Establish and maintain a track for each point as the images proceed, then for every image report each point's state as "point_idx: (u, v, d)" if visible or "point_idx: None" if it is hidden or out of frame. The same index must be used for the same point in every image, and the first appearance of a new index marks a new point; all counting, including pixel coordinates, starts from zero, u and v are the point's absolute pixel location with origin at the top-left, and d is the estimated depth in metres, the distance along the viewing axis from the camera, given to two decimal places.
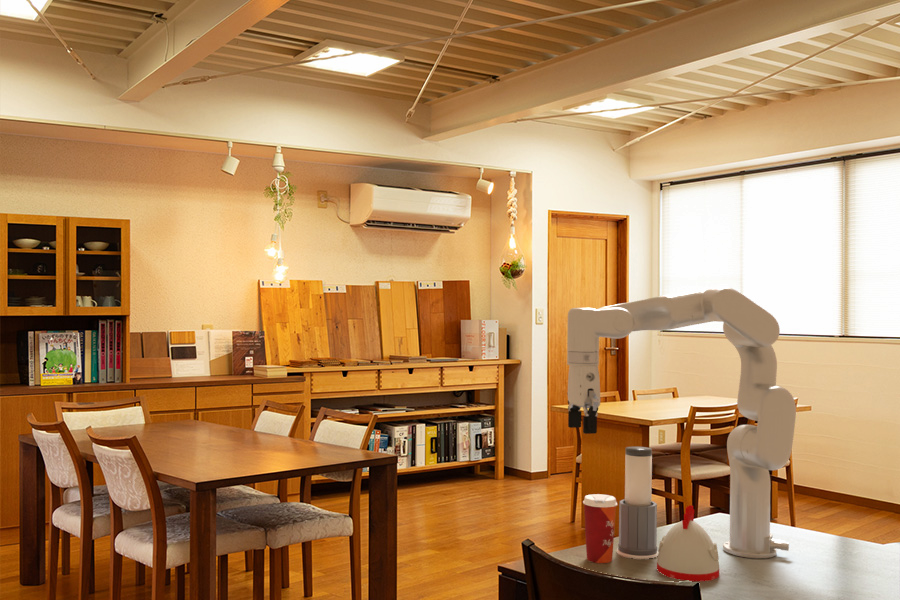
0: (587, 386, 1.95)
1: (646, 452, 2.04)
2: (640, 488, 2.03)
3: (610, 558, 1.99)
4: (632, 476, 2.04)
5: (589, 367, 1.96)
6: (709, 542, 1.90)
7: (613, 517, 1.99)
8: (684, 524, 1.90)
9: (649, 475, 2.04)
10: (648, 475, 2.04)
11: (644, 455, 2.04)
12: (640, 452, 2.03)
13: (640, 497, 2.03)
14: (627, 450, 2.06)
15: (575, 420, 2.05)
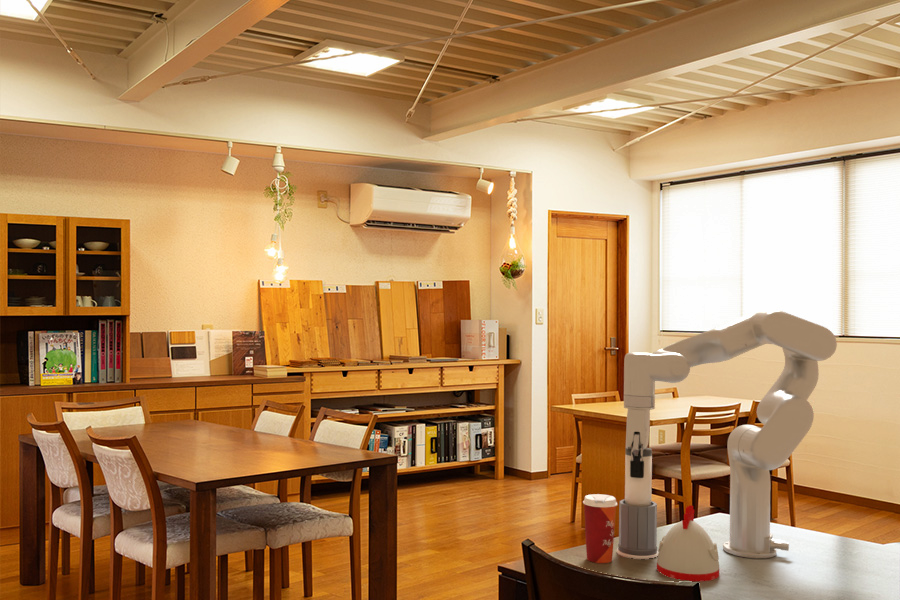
0: None
1: (646, 452, 2.04)
2: (640, 488, 2.03)
3: (610, 558, 1.99)
4: None
5: None
6: (709, 542, 1.90)
7: (613, 517, 1.99)
8: (684, 524, 1.90)
9: (649, 475, 2.04)
10: (648, 475, 2.04)
11: (644, 455, 2.04)
12: (640, 452, 2.03)
13: (640, 498, 2.03)
14: (627, 450, 2.06)
15: None
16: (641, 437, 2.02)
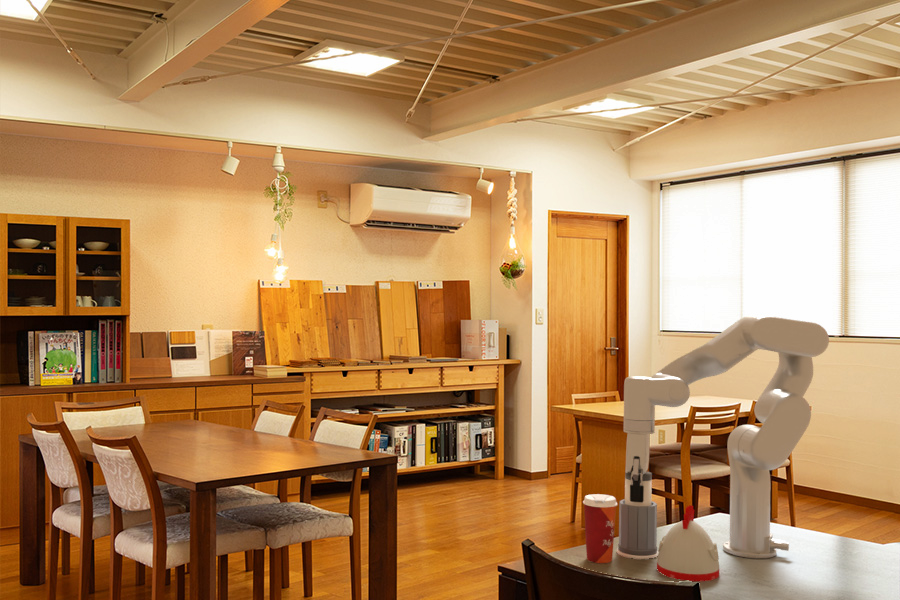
0: None
1: (646, 476, 2.04)
2: None
3: (610, 558, 1.99)
4: None
5: None
6: (709, 542, 1.90)
7: (613, 517, 1.99)
8: (684, 524, 1.90)
9: (649, 499, 2.04)
10: (648, 499, 2.04)
11: (644, 480, 2.03)
12: None
13: None
14: (627, 474, 2.05)
15: None
16: (641, 462, 2.01)
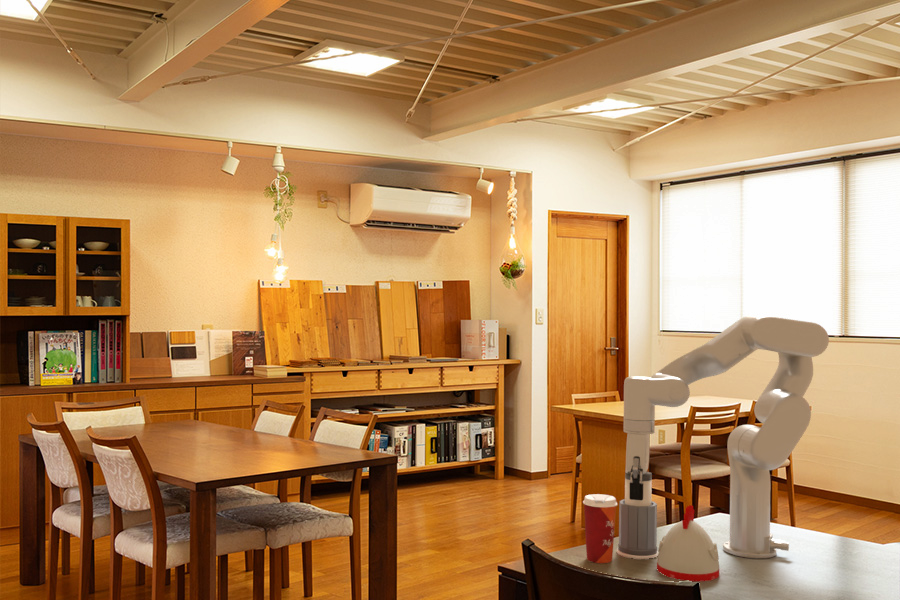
0: None
1: (646, 477, 2.04)
2: None
3: (610, 558, 1.99)
4: (631, 500, 2.04)
5: None
6: (709, 542, 1.90)
7: (613, 517, 1.99)
8: (684, 524, 1.90)
9: (649, 500, 2.04)
10: (648, 499, 2.04)
11: (644, 480, 2.03)
12: None
13: None
14: (627, 474, 2.05)
15: None
16: (641, 462, 2.01)
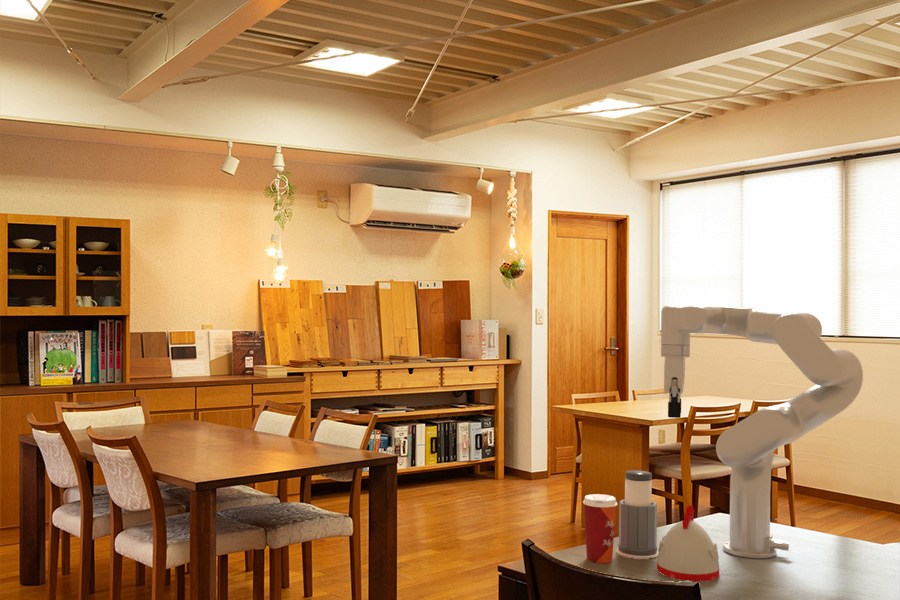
0: None
1: (646, 477, 2.04)
2: None
3: (610, 558, 1.99)
4: (631, 500, 2.04)
5: None
6: (709, 542, 1.90)
7: (613, 517, 1.99)
8: (684, 524, 1.90)
9: (649, 500, 2.04)
10: (648, 499, 2.04)
11: (644, 480, 2.03)
12: (640, 477, 2.03)
13: None
14: (627, 474, 2.05)
15: None
16: (678, 382, 2.18)
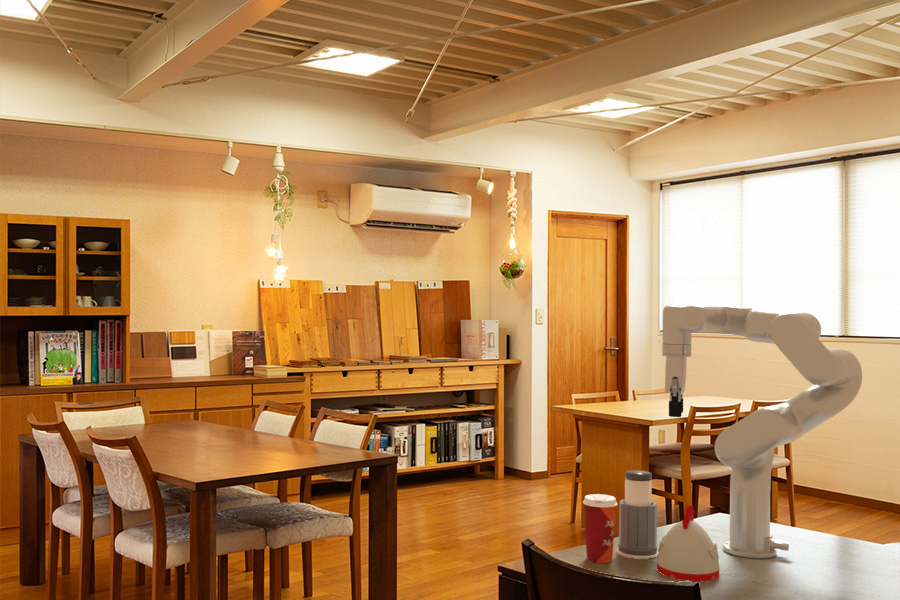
0: None
1: (646, 477, 2.04)
2: None
3: (610, 558, 1.99)
4: (631, 500, 2.04)
5: None
6: (709, 542, 1.90)
7: (613, 517, 1.99)
8: (684, 524, 1.90)
9: (649, 500, 2.04)
10: (648, 499, 2.04)
11: (644, 480, 2.03)
12: (640, 477, 2.03)
13: None
14: (627, 474, 2.05)
15: None
16: (679, 382, 2.19)
